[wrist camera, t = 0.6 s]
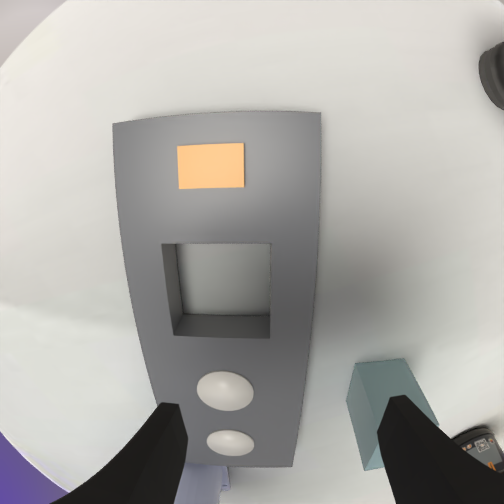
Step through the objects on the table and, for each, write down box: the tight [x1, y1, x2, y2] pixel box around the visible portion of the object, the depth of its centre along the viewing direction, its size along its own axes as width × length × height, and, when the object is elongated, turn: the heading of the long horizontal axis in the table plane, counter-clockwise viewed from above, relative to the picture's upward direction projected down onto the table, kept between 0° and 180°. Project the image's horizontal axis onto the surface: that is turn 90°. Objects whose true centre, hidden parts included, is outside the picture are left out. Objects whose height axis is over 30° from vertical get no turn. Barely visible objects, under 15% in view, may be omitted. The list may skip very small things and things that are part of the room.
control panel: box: [113, 111, 321, 467], centre depth 18 cm, size 26×10×3 cm, turn 1°
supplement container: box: [453, 428, 504, 475], centre depth 20 cm, size 10×10×12 cm
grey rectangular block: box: [346, 358, 439, 471], centre depth 17 cm, size 4×4×7 cm
